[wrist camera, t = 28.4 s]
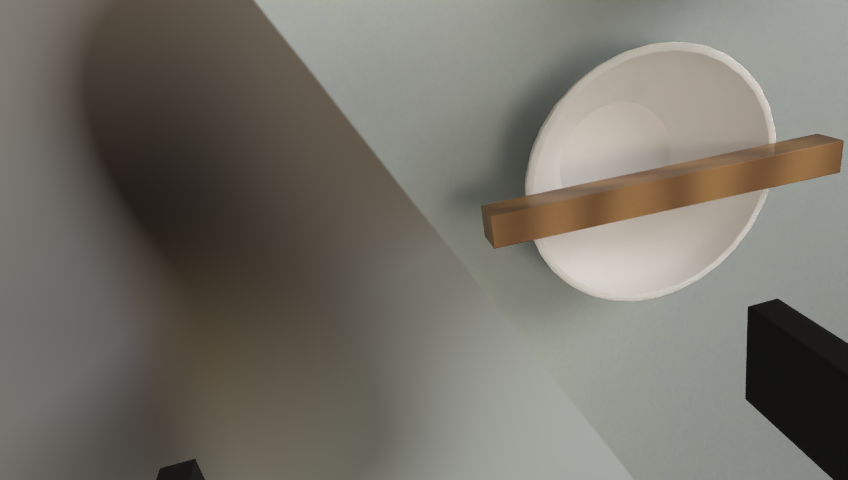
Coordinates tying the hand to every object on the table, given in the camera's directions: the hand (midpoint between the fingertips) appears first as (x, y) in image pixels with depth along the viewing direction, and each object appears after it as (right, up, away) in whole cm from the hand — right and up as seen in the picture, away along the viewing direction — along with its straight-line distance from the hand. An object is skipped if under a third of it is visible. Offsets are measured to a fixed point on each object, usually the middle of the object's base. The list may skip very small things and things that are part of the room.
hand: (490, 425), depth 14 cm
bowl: (+14, +11, +36) cm, 40 cm away
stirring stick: (+15, +8, +29) cm, 34 cm away
